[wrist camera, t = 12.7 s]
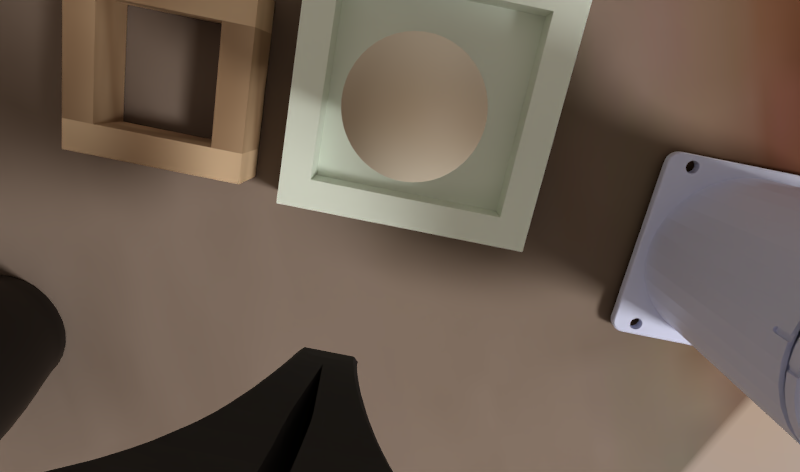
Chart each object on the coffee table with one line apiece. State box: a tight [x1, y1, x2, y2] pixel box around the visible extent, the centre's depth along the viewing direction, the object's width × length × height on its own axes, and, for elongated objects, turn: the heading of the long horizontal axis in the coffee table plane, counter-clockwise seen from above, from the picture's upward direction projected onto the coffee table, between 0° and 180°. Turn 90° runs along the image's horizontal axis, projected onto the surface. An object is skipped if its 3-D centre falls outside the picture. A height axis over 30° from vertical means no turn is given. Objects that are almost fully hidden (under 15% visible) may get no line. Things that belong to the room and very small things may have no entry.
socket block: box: [62, 0, 275, 184], centre depth 19 cm, size 7×7×2 cm
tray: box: [276, 0, 592, 252], centre depth 19 cm, size 10×10×2 cm
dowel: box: [341, 31, 488, 182], centre depth 16 cm, size 4×4×8 cm
